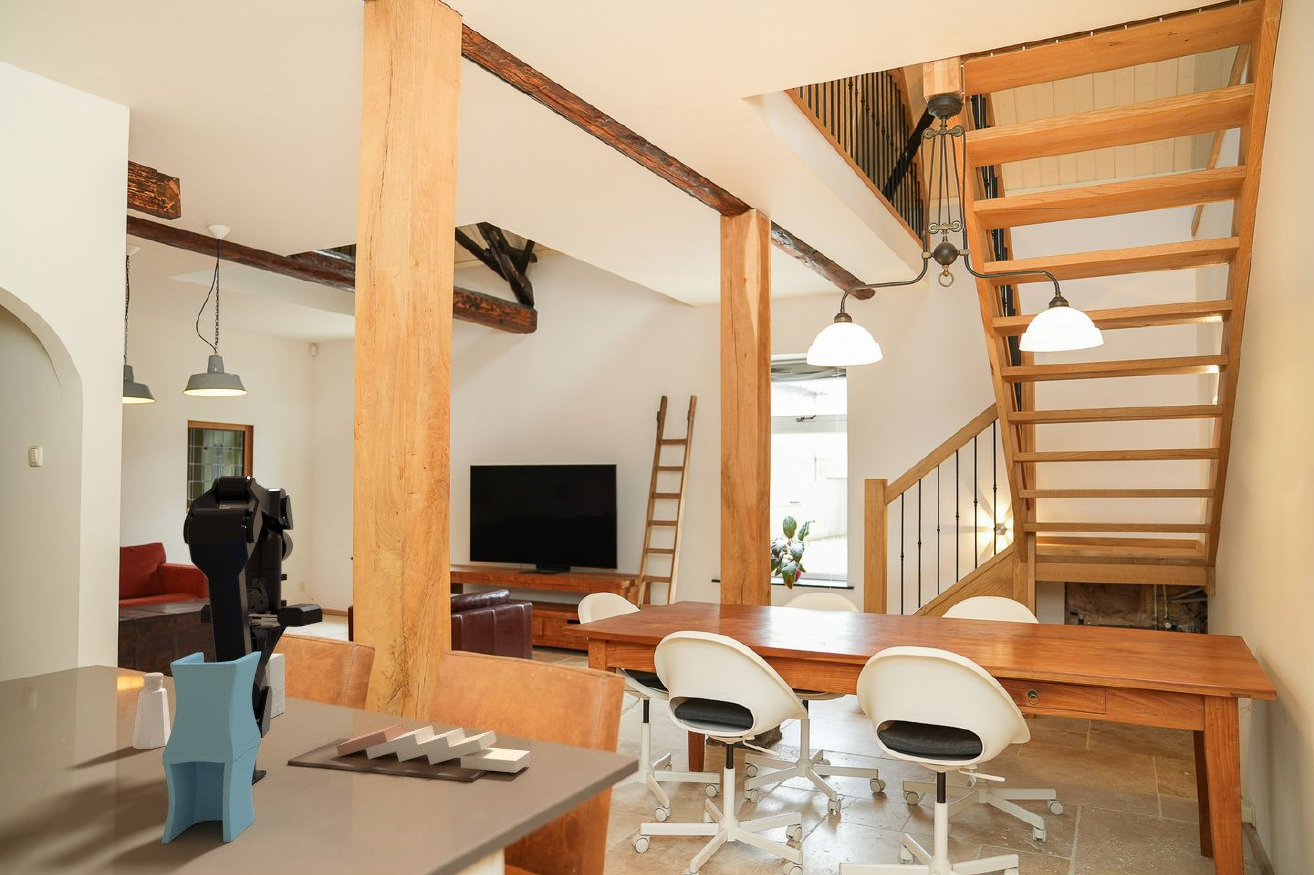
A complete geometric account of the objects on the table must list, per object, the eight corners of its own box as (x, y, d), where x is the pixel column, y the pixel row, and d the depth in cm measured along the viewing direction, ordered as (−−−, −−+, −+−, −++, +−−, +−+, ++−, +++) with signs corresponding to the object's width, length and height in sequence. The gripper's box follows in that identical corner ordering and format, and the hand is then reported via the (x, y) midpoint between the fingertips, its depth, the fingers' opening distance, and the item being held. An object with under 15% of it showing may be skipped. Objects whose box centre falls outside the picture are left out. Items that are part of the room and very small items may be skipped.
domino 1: (387, 750, 136) (434, 735, 134) (368, 759, 132) (417, 744, 130) (384, 739, 137) (431, 725, 135) (365, 748, 132) (414, 733, 130)
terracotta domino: (358, 747, 138) (405, 733, 136) (339, 756, 133) (387, 741, 131) (355, 737, 138) (402, 722, 136) (336, 746, 133) (384, 731, 131)
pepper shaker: (153, 738, 146) (155, 669, 146) (179, 741, 144) (180, 671, 144) (123, 748, 140) (125, 676, 141) (150, 751, 139) (151, 678, 139)
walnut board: (511, 756, 135) (511, 752, 135) (473, 781, 123) (473, 777, 123) (338, 741, 143) (338, 738, 143) (287, 764, 132) (287, 760, 132)
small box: (285, 712, 162) (286, 653, 163) (269, 720, 157) (270, 659, 157) (243, 711, 163) (244, 652, 164) (225, 719, 158) (226, 658, 158)
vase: (259, 816, 111) (262, 651, 112) (231, 841, 103) (234, 663, 104) (194, 817, 110) (197, 652, 111) (160, 843, 102) (164, 664, 103)
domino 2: (417, 752, 135) (465, 738, 133) (399, 762, 130) (449, 747, 128) (414, 742, 135) (462, 727, 133) (396, 751, 131) (446, 736, 128)
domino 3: (447, 755, 134) (496, 741, 131) (430, 764, 129) (481, 750, 127) (444, 744, 134) (493, 730, 132) (427, 753, 129) (478, 739, 127)
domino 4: (476, 757, 132) (530, 762, 130) (460, 767, 128) (515, 772, 125) (477, 746, 132) (530, 751, 130) (460, 756, 128) (515, 760, 125)
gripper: (172, 572, 136) (170, 677, 135) (276, 574, 131) (274, 684, 130) (227, 565, 147) (225, 663, 146) (325, 568, 141) (324, 668, 141)
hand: (260, 669), depth 140 cm, fingers closed
